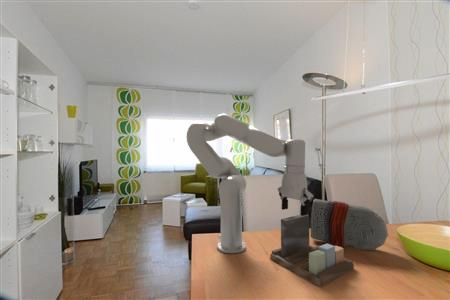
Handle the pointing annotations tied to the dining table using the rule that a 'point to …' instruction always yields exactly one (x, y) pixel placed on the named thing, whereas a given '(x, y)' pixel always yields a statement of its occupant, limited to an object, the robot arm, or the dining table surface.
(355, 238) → the decorative stone tablet
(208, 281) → the dining table surface
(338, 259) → the terracotta offcut board
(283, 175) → the robot arm
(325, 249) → the slate offcut board
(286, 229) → the charcoal panel
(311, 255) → the sage offcut board
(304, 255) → the walnut rack
